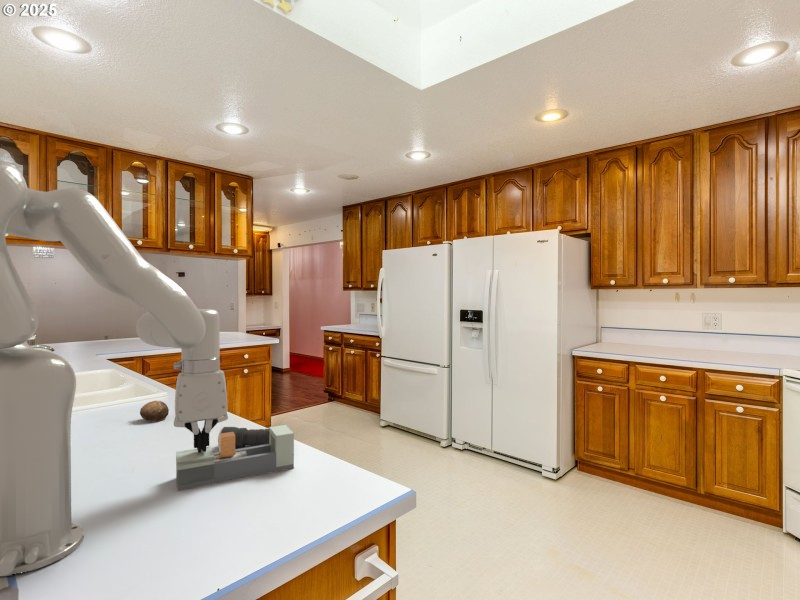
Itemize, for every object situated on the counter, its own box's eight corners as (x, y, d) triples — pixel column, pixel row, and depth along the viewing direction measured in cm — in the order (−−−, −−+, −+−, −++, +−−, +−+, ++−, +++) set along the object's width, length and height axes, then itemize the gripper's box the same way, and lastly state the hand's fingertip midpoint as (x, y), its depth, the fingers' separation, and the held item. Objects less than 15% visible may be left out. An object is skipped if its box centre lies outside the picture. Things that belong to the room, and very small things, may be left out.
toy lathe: (177, 490, 89) (177, 451, 89) (176, 477, 95) (176, 440, 95) (293, 468, 101) (293, 433, 100) (286, 457, 107) (286, 424, 107)
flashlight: (283, 444, 117) (283, 424, 117) (278, 451, 112) (278, 430, 112) (225, 444, 117) (225, 424, 117) (217, 451, 111) (217, 430, 111)
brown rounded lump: (141, 407, 140) (147, 393, 138) (167, 413, 143) (173, 400, 141) (133, 425, 133) (139, 411, 131) (160, 432, 137) (167, 418, 134)
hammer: (177, 480, 91) (176, 444, 90) (176, 474, 93) (176, 439, 93) (247, 467, 97) (247, 433, 97) (244, 462, 100) (244, 429, 100)
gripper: (161, 372, 87) (162, 462, 87) (240, 365, 94) (240, 449, 95) (161, 366, 93) (162, 450, 94) (234, 360, 101) (235, 439, 101)
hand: (201, 450), depth 94 cm, fingers closed
